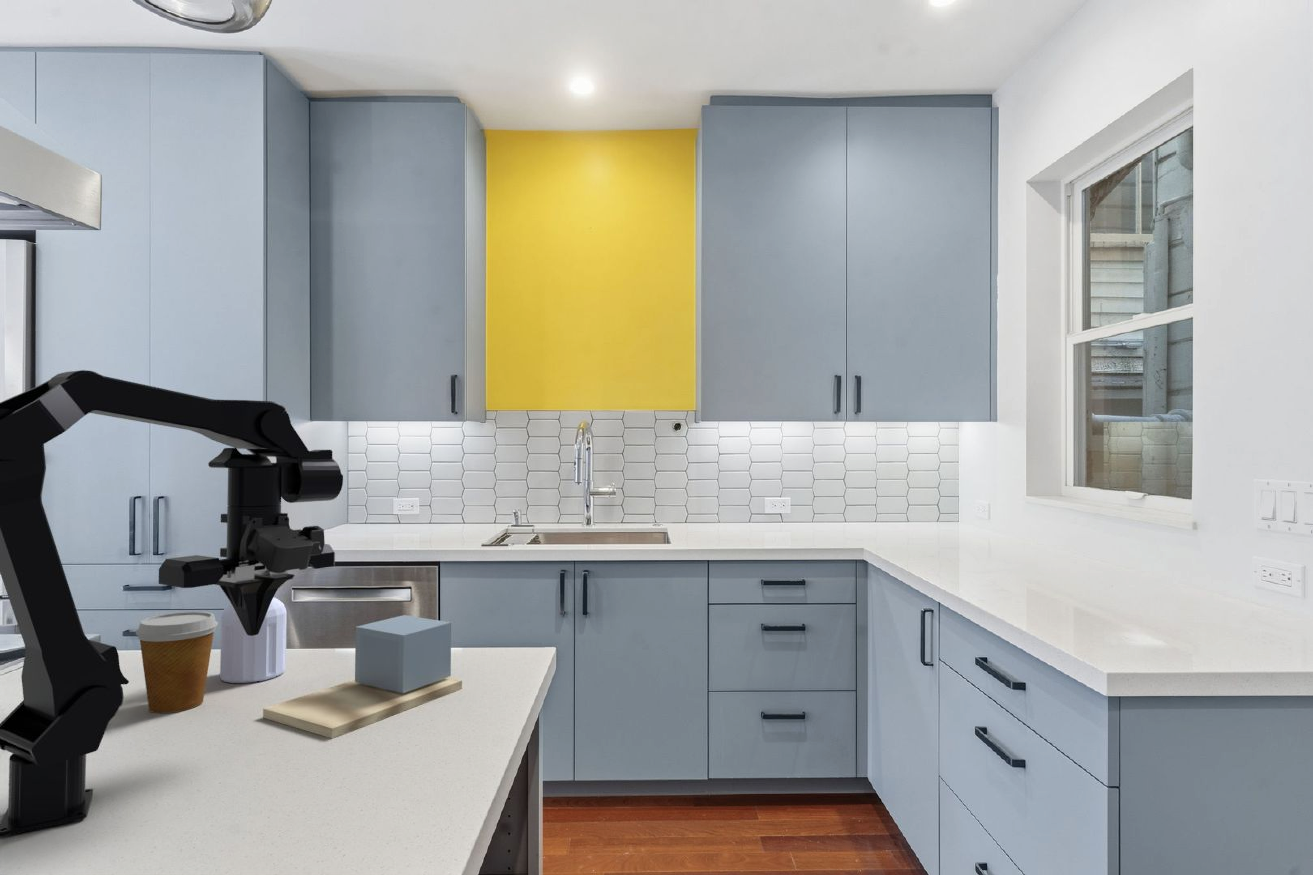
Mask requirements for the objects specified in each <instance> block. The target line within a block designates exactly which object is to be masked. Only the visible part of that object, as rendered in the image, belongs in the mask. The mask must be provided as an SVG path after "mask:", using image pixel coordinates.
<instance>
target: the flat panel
mask: <svg viewBox="0 0 1313 875" xmlns="http://www.w3.org/2000/svg"><path fill="white" fill-rule="evenodd" d="M462 689H463V680H462V679H457V678H451V677H447V678H444V679H442V680H439V681H436V682H433V683H430V684H428V685H425V686H422V687H419V688H416V689H414V690H411V691H408V692H405V693H400V692H396V691H391V690H387V689H383V688H379V687H374V686H370V685H366V684H362V683H357V682H355V679H352V680H350V681H347V682H344V683H339V684H337V685H334V686H330V687H327V688H324V689H321V690H318V691H315V692H314V691H313V692H311V693H308V694H305V695H302V696H299V697H296V698H292V699H288V700H286V701H283V702H280V703H276V704H273V705H270V706H267V707H264V708H262V718H263V719H266V720H269V721H273V722H276V723H280V724H283V725H286V726H289V727H293V728H295V729H299V730H301V731H302V730H303V731H307V732H310V733H312V734H317V735H320V736H324V737H327V738H329V739H335V738H337V737H340V736H342V735H346V734H348V733H349V732H353V731H356V730H359V729H360V728H363V727H366V726H369V725H371V724H374V723H377V722H379V721H381V720H384V719H387V718H389V717H392V716H395V715H398V714H400V713H402V712H405V711H408V710H410V709H412V708H415V707H418V706H420V705H421V706H422V705H423V704H426V703H428V702H431V701H434V700H437V699H438V698H442V697H443V696H447V695H449V694H451V693H454V692H456V691H459V690H462Z"/></svg>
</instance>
